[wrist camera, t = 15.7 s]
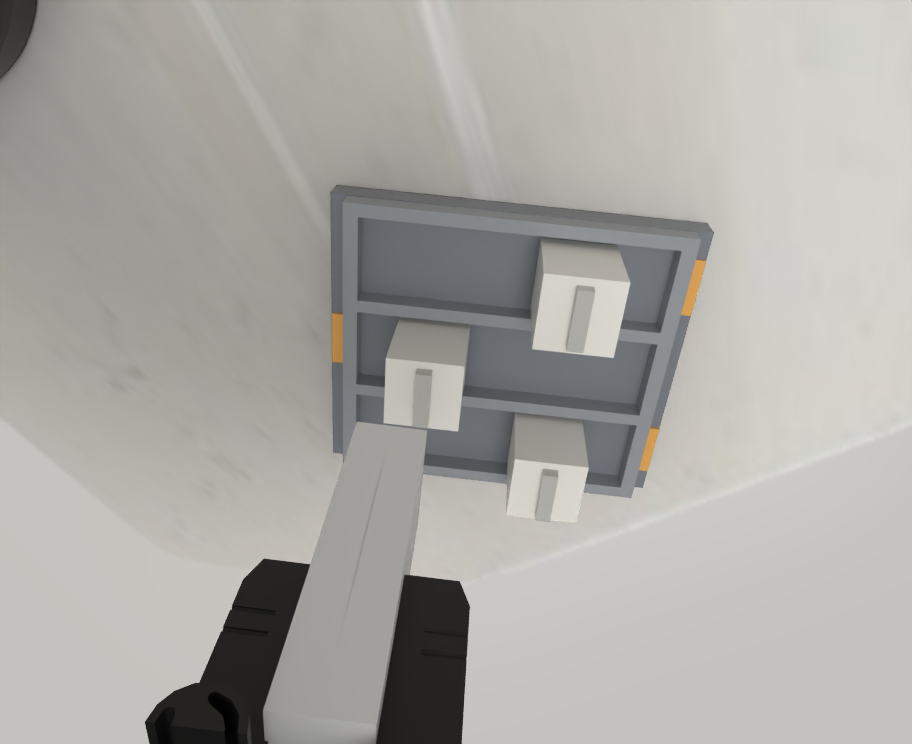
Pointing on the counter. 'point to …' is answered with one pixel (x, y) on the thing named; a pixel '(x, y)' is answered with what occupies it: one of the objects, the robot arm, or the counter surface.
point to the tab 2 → (578, 297)
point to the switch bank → (507, 324)
